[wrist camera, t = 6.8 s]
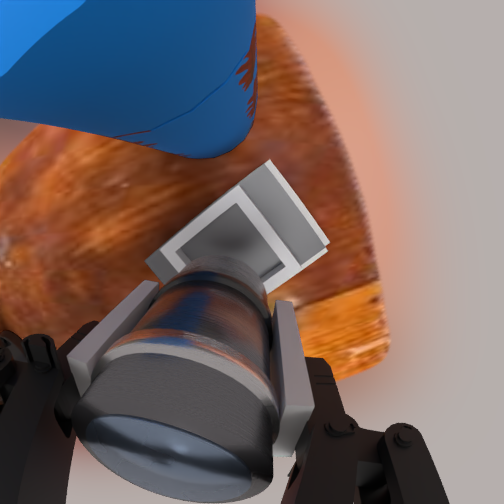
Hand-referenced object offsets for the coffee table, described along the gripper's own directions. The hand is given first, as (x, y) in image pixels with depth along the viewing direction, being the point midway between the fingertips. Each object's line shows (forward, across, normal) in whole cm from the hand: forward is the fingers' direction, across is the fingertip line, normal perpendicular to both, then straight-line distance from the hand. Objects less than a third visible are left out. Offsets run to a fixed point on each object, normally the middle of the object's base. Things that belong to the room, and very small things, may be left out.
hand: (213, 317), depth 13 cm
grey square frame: (+17, 0, 0) cm, 17 cm away
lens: (+2, 0, 0) cm, 2 cm away
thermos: (+17, -5, +13) cm, 22 cm away
